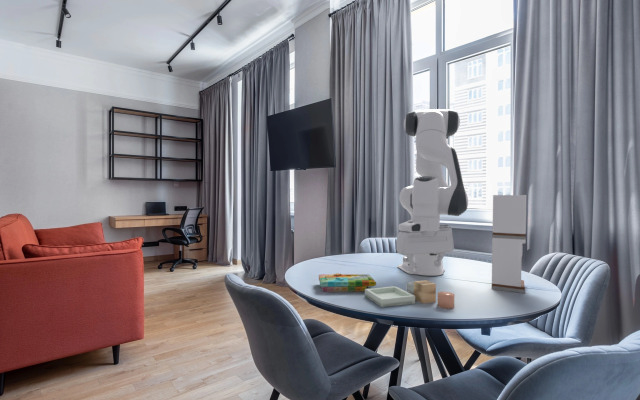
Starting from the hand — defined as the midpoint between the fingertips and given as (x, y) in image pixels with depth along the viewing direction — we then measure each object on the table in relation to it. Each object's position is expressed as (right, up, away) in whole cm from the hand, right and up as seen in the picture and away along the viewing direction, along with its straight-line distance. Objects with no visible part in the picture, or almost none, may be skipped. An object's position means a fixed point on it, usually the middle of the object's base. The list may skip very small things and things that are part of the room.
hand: (425, 267), depth 115 cm
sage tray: (-12, -11, +1) cm, 16 cm away
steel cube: (-1, -11, +8) cm, 14 cm away
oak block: (0, -11, +1) cm, 11 cm away
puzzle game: (-25, -11, +16) cm, 32 cm away
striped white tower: (+37, -11, +17) cm, 42 cm away
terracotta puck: (+5, -11, -5) cm, 13 cm away
